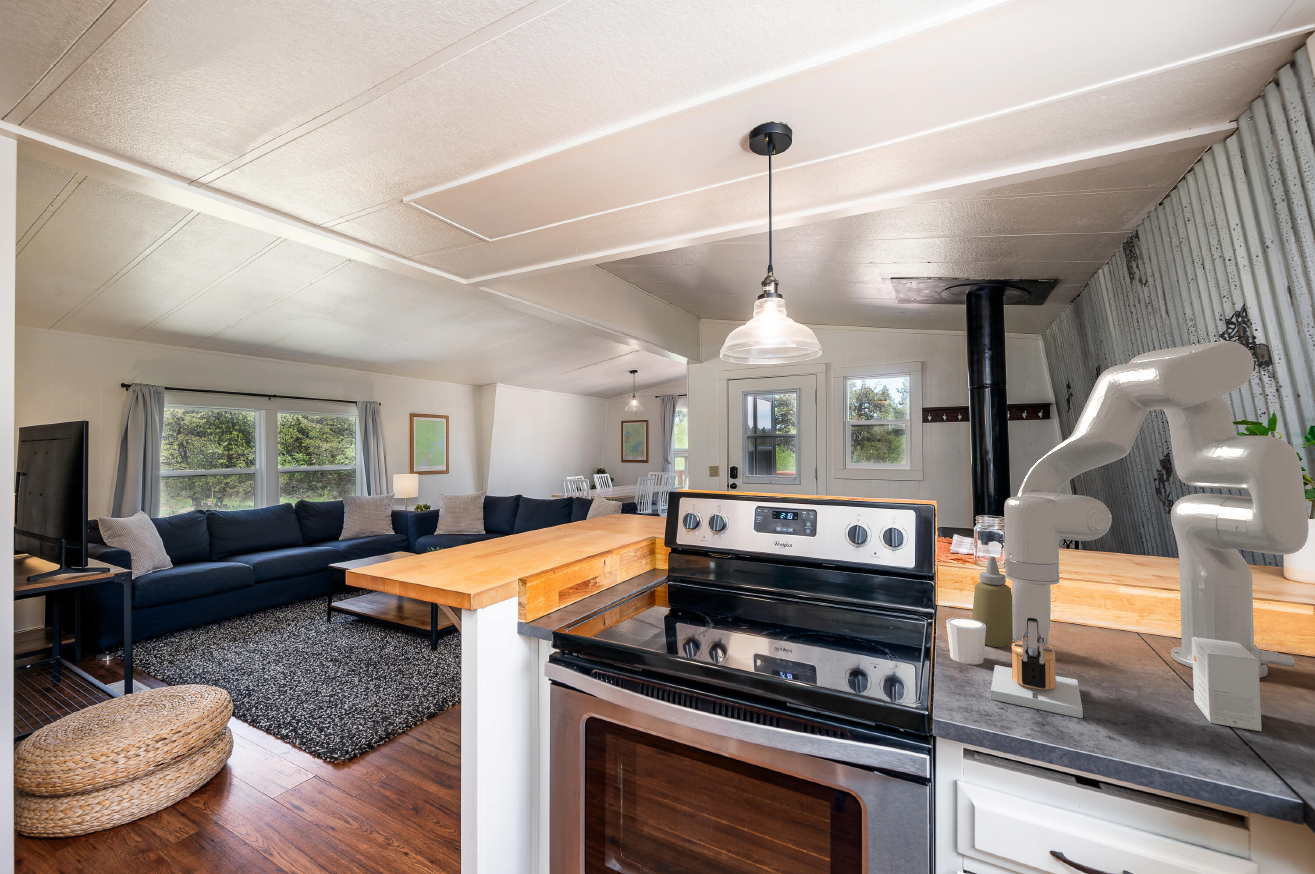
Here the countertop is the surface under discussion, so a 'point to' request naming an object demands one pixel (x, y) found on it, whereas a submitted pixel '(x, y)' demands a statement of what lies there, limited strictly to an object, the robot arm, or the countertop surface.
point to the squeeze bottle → (994, 606)
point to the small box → (1226, 683)
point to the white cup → (966, 640)
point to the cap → (1047, 658)
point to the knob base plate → (1037, 694)
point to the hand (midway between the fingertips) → (1033, 677)
